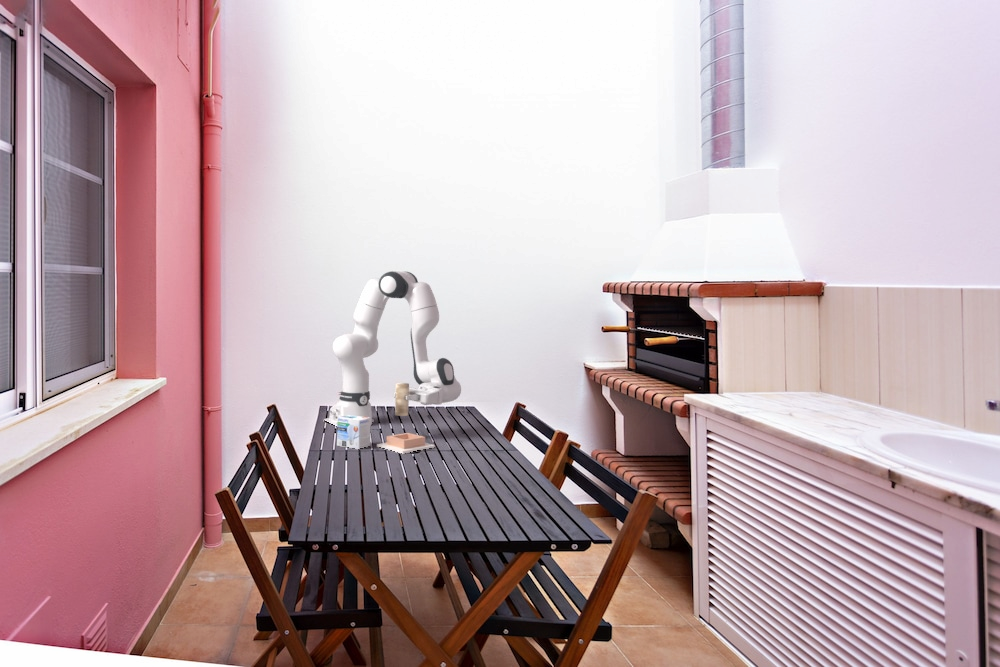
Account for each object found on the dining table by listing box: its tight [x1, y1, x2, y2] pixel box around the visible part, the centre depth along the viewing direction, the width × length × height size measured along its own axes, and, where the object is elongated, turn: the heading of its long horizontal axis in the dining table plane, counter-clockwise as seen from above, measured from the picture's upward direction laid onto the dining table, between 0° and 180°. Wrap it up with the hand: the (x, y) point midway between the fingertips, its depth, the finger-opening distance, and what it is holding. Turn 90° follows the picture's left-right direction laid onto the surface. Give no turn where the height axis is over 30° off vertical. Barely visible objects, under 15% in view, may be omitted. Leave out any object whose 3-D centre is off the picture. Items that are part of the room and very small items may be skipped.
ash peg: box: [394, 382, 410, 417], centre depth 274 cm, size 5×5×12 cm
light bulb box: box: [336, 415, 372, 450], centre depth 260 cm, size 11×7×11 cm, turn 62°
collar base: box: [376, 432, 436, 455], centre depth 261 cm, size 15×15×4 cm
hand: (400, 396), depth 273 cm, fingers closed on ash peg, 5 cm apart
